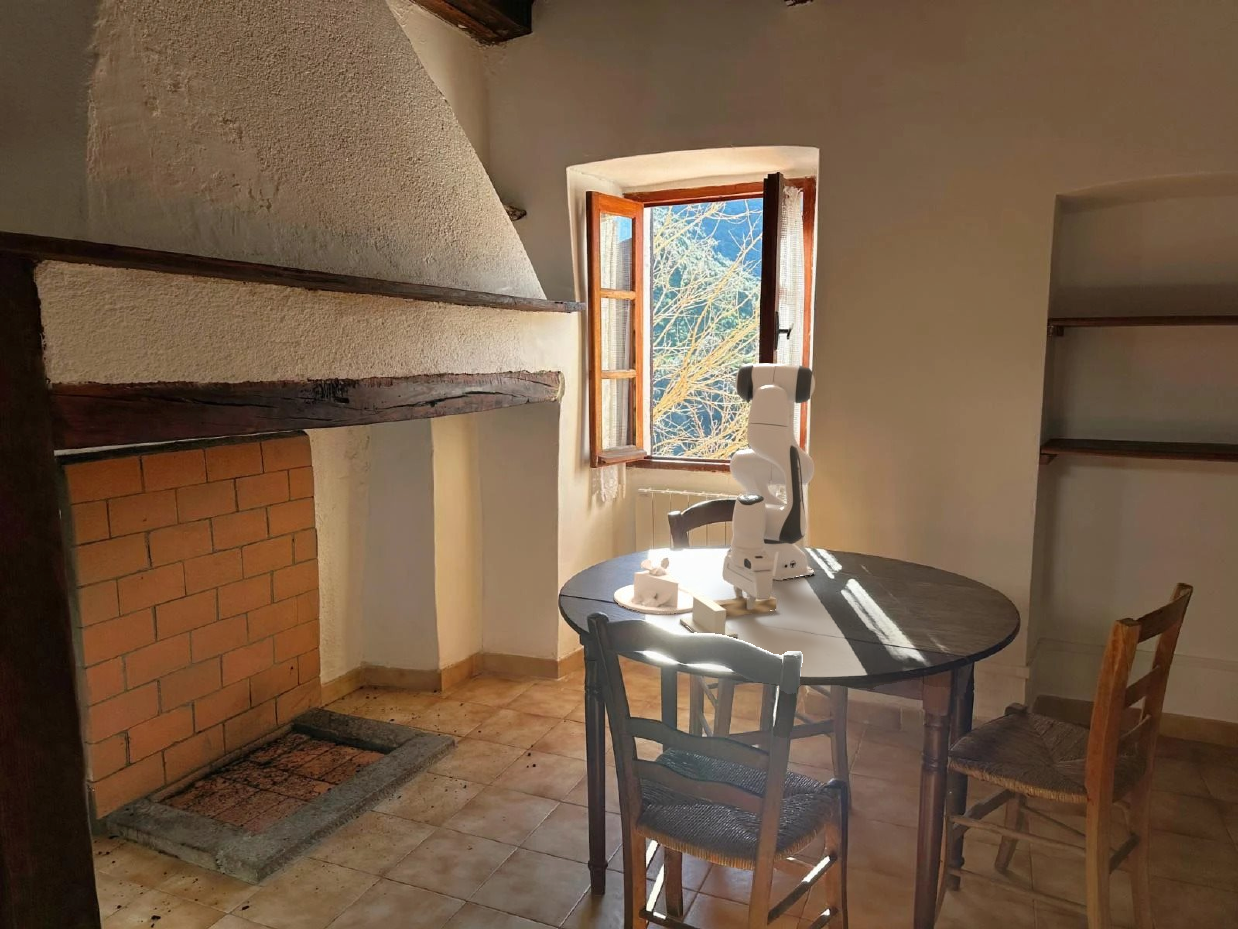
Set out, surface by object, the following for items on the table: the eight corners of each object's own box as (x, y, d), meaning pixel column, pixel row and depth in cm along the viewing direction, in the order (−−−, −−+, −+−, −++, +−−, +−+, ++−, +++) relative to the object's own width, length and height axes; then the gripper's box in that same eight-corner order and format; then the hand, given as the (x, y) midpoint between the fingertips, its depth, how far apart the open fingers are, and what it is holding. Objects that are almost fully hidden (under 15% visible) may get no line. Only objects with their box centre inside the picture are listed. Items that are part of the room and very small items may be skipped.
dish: (597, 594, 234) (598, 555, 232) (671, 583, 246) (672, 546, 245) (644, 620, 213) (645, 578, 211) (721, 607, 226) (723, 567, 224)
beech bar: (769, 607, 226) (769, 595, 226) (776, 611, 223) (776, 599, 223) (711, 613, 220) (711, 601, 219) (717, 617, 216) (717, 605, 216)
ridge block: (711, 619, 214) (712, 593, 213) (737, 637, 202) (739, 610, 201) (679, 622, 211) (680, 596, 210) (704, 641, 198) (706, 613, 197)
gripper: (718, 547, 228) (715, 595, 230) (756, 566, 209) (753, 619, 211) (738, 545, 230) (735, 593, 232) (777, 564, 211) (774, 616, 213)
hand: (744, 606), depth 221 cm, fingers closed on beech bar, 3 cm apart
